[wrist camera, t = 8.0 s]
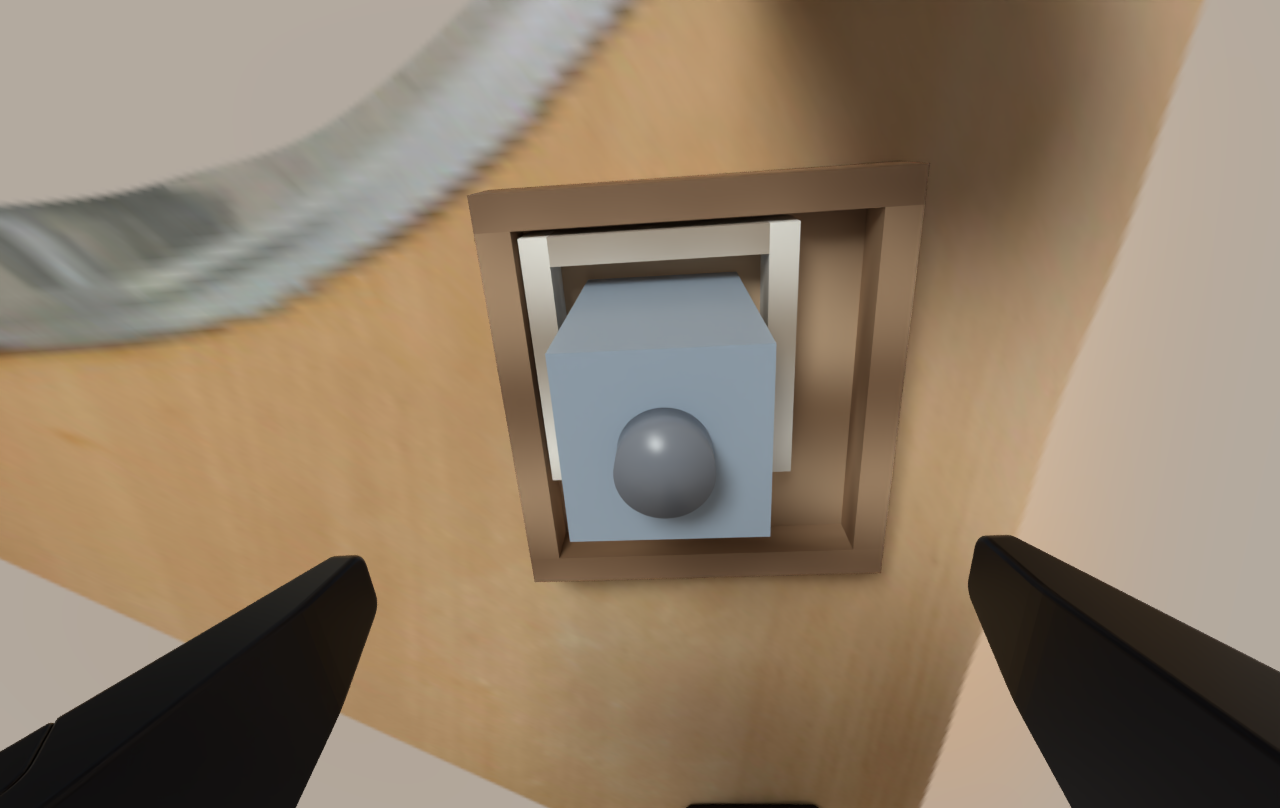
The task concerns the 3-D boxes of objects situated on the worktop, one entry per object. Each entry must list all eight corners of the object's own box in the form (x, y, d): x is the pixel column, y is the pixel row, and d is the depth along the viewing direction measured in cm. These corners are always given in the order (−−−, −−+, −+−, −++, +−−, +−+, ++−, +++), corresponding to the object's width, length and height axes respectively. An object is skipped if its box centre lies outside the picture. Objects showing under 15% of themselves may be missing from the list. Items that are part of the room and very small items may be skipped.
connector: (735, 407, 19) (778, 565, 12) (601, 413, 20) (563, 570, 12) (736, 271, 18) (786, 360, 10) (587, 279, 18) (534, 372, 11)
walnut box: (862, 537, 22) (881, 574, 20) (545, 546, 23) (534, 584, 21) (900, 160, 17) (931, 163, 15) (487, 190, 18) (466, 195, 16)
